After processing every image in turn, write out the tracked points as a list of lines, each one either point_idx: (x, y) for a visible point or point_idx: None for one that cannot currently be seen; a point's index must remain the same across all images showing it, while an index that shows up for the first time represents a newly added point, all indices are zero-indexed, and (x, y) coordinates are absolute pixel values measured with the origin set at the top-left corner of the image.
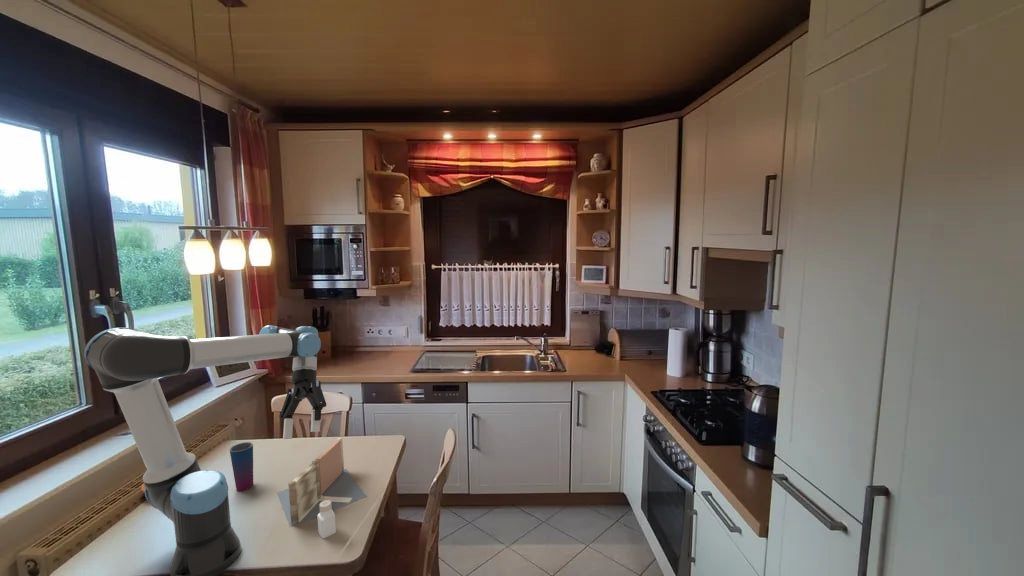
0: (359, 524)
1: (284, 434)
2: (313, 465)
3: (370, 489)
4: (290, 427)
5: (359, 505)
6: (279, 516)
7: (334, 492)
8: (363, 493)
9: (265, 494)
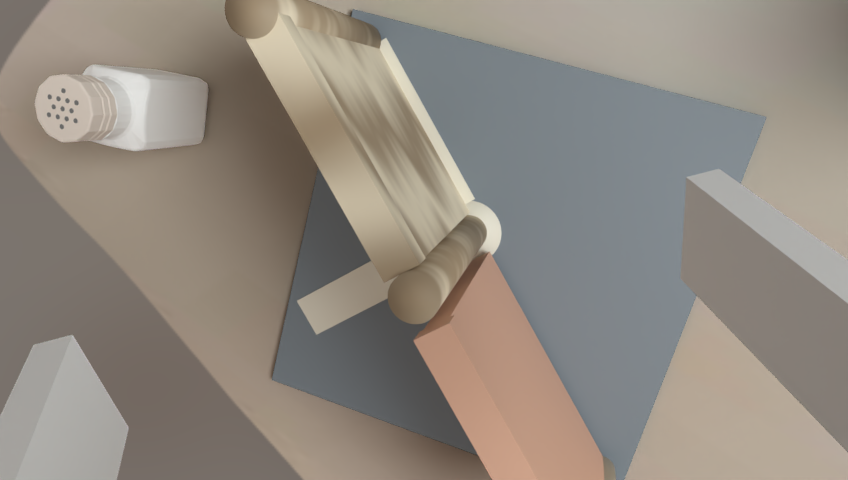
0: (131, 230)
1: (732, 206)
2: (376, 258)
3: (321, 432)
4: (785, 351)
5: (249, 318)
6: (505, 18)
7: None
8: (307, 388)
9: (832, 65)
